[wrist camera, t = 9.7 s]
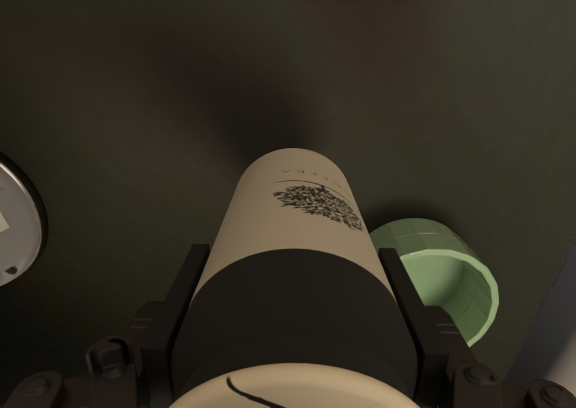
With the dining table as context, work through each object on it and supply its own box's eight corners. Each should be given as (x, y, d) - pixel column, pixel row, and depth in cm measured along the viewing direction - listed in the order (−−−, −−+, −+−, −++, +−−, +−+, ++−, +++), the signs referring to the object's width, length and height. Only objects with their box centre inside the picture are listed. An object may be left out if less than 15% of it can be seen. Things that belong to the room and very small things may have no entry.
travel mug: (305, 271, 28) (325, 605, 11) (213, 215, 26) (74, 513, 9) (374, 190, 25) (536, 468, 8) (278, 122, 23) (243, 304, 7)
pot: (342, 318, 40) (351, 361, 34) (352, 216, 35) (363, 248, 30) (455, 320, 40) (481, 364, 34) (479, 219, 35) (514, 250, 30)
